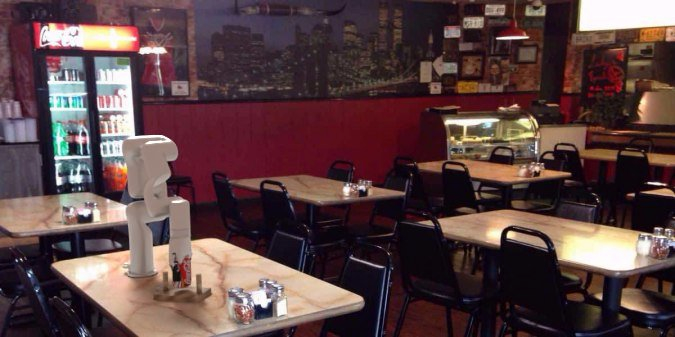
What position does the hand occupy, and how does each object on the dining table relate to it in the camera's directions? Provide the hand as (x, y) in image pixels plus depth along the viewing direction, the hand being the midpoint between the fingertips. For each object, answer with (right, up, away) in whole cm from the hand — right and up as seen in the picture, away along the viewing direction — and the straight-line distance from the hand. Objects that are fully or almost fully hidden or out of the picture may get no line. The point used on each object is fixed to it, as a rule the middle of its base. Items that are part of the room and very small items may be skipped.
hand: (181, 278), depth 234 cm
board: (0, -7, +1) cm, 7 cm away
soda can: (0, -3, 0) cm, 4 cm away
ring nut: (-9, -6, +8) cm, 14 cm away
